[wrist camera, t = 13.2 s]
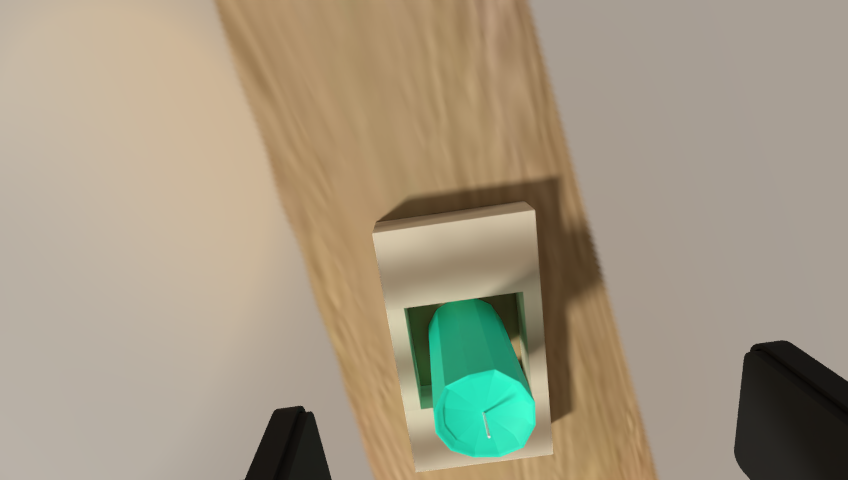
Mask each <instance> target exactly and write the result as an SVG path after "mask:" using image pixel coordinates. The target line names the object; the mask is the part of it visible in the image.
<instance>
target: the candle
mask: <svg viewBox="0 0 848 480" xmlns="http://www.w3.org/2000/svg"><path fill="white" fill-rule="evenodd" d="M428 330H429V347H430V363H431V380H432V397H433V413H434V422H435V432H436V434H437V435H438V436H439V438H440V439H441V440H442V441H443V442H444V443H445V445H446V446H447V447H448V448H449V449H450V450H451V451H454V452H457V453H461V454H464V455H467V456H471V457H502V456H504V455H507V454H509V453H512V452H514V451H516V450H519V449H521V448H524V446H525V444H526V442H527V440H528V438H529V436H530V435H531V433H532V431H533V429H534V427H535V425H536V416H535V401H534V398H533V396H532V393H531V391H530V388H529V386H528V384H527V381H526V379H525V376H524V374H523V371H522V369H521V366H520V364H519V361H518V359H517V357H516V354H515V352H514V349H513V347H512V344H511V342H510V339H509V337H508V334H507V332H506V329H505V327H504V325H503V322H502V320H501V318H500V317H499V315H498V314H497V312H496V311H495V310H494V308H493V307H492V306H491V304H489V303H486V302H484V301H482V300H479V299H477V298H474V299H467V300H459V301H452V302H447V303H446V304H444V305H442V306H441V307H439V308H438V309H437V310H436V311H435V313H434V315H433V317H432V319H431V321H430V323H429V325H428Z"/></svg>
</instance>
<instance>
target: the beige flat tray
mask: <svg viewBox="0 0 848 480" xmlns="http://www.w3.org/2000/svg"><path fill="white" fill-rule="evenodd" d="M372 235H373V240H374V246H375V251H376V257H377V262H378V268H379V273H380V279H381V284H382V290H383V295H384V301H385V306H386V312H387V317H388V323H389V328H390V333H391V339H392V344H393V350H394V355H395V361H396V366H397V372H398V377H399V383H400V388H401V394H402V399H403V405H404V410H405V416H406V421H407V426H408V432H409V437H410V443H411V448H412V454H413V459H414V465H415V470H416V472H422V471H430V470H437V469H445V468H452V467H460V466H468V465H475V464H483V463H490V462H498V461H505V460H513V459H521V458H528V457H536V456H543V455H551V454H553V445H552V432H551V418H550V405H549V391H548V378H547V365H546V351H545V338H544V324H543V311H542V298H541V284H540V271H539V258H538V244H537V231H536V217H535V210H534V209H533V208H532V207H531V206H530V205H529V204H527V203H526V202H525V201H521V202H514V203H507V204H500V205H493V206H487V207H480V208H473V209H466V210H459V211H452V212H445V213H438V214H431V215H424V216H417V217H410V218H403V219H396V220H389V221H383V222H376V224H375V227H374V230H373V232H372ZM509 293H516V302H517V313H518V323H519V334H520V345H521V356H522V367H523V374H524V376H525V379H526V381H527V384H528V386H529V388H530V391H531V393H532V396H533V398H534V401H535V416H536V425H535V427H534V429H533V431H532V433H531V435H530V436H529V438H528V440H527V442H526V444H525V446H524V448H521V449H519V450H516V451H514V452H512V453H509V454H507V455H504V456H502V457H471V456H467V455H464V454H461V453H457V452H454V451H451V450H450V449H449V448H448V447H447V446H446V445H445V443H444V442H443V441H442V440H441V439H440V438H439V436H438V435H437V434H436V432H435V422H434V413H433V397H432V385H425V386H420V380H419V374H418V368H417V362H416V356H415V350H414V344H413V338H412V332H411V326H410V320H409V314H408V308H409V307H416V306H424V305H431V304H438V303H445V302H452V301H459V300H467V299H474V298H481V297H488V296H495V295H502V294H509Z"/></svg>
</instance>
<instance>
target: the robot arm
mask: <svg viewBox="0 0 848 480" xmlns="http://www.w3.org/2000/svg"><path fill="white" fill-rule="evenodd" d="M734 454H735V458H736V461H737V463H738V465H739V466H740V468H741V469H742V471H743V472H744V473H745V474H746V475H747V476H748V477H749V479H750V480H848V381H846V380H845V379H843V378H842V377H840V376H839V375H837V374H836V373H834V372H833V371H831V370H830V369H829V368H827V367H826V366H824V365H823V364H821V363H820V362H818V361H817V360H815V359H814V358H812V357H811V356H809V355H808V354H807V353H805V352H804V351H802V350H801V349H799V348H798V347H796V346H795V345H793V344H792V343H790V342H788V341H783V340H781V341H774V342H766V343H759V344H755V345H753V346H752V347H751V350H750V352H748V353H746V354H745V356H744V363H743V372H742V381H741V390H740V401H739V409H738V419H737V428H736V437H735V447H734ZM245 480H332V479H331V476H330V472H329V468H328V465H327V461H326V457H325V454H324V450H323V446H322V443H321V439H320V435H319V432H318V428H317V425H316V421H315V417H314V414H313V413H312V412H311V411H310V412H306V411H305V409H304V408H303V406H295V407H289V408H281V409H276V410H275V411H274V412H273V414H272V416H271V419H270V421H269V423H268V426H267V428H266V430H265V433H264V435H263V437H262V440H261V442H260V445H259V447H258V449H257V452H256V454H255V457H254V459H253V461H252V464H251V466H250V468H249V471H248V473H247V475H246V478H245Z"/></svg>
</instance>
